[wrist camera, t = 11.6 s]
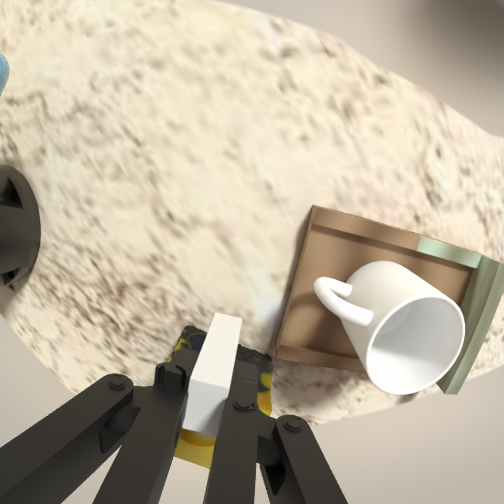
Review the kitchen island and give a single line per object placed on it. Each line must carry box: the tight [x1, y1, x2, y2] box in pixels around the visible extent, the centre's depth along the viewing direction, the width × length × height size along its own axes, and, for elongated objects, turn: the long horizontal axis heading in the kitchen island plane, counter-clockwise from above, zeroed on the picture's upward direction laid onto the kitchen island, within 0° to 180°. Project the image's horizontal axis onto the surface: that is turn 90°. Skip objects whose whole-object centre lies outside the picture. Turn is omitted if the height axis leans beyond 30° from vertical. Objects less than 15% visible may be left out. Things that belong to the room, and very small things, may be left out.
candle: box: [167, 326, 273, 469], centre depth 30 cm, size 10×10×10 cm
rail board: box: [275, 205, 504, 394], centre depth 29 cm, size 21×15×6 cm
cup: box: [314, 261, 465, 395], centre depth 25 cm, size 8×12×10 cm
